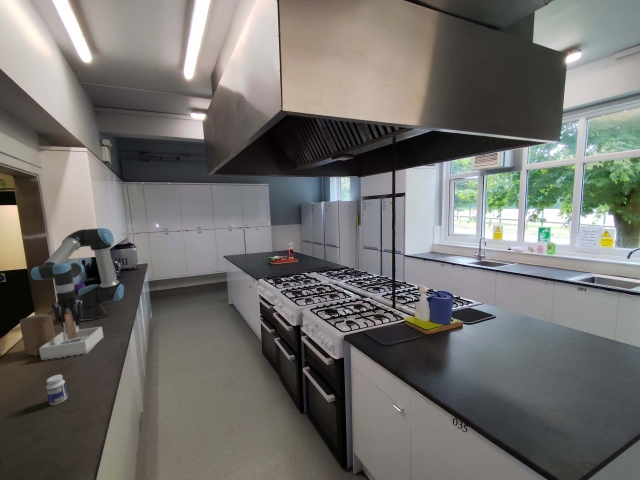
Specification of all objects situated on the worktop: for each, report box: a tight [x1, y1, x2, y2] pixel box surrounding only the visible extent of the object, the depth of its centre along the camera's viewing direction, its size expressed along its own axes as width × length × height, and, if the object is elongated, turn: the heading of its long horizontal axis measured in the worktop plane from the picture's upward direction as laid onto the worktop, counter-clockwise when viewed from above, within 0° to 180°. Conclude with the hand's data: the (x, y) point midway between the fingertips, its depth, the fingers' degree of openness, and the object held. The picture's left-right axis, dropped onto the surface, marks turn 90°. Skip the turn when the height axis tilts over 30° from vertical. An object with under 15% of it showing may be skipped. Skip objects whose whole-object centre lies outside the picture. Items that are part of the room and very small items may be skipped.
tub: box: [39, 326, 104, 361], centre depth 161 cm, size 20×20×7 cm
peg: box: [64, 311, 77, 339], centre depth 159 cm, size 4×4×14 cm
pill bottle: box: [45, 374, 68, 406], centre depth 116 cm, size 6×6×10 cm
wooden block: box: [19, 313, 56, 357], centre depth 158 cm, size 10×10×20 cm
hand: (71, 332), depth 160 cm, fingers closed on peg, 4 cm apart
